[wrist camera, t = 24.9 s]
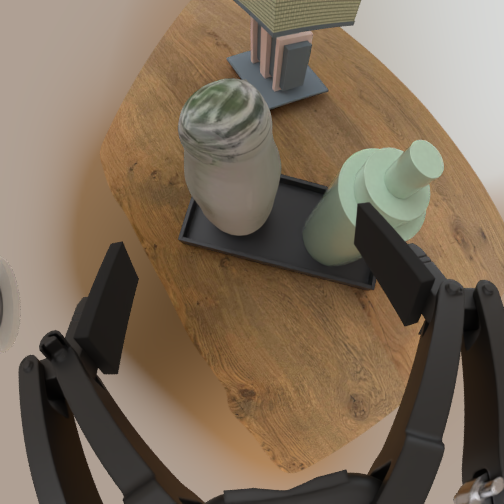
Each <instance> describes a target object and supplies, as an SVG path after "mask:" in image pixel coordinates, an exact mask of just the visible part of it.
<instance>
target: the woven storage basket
mask: <svg viewBox="0 0 504 504" xmlns="http://www.w3.org/2000/svg"><path fill="white" fill-rule="evenodd" d="M234 1H235V2H236V3H237V4H238V5H239V6H240V7H241V8H242V9H244V10H245V11H246V12H247V13H248V14H249V15H250V17H251V51H247V52H244V53H241V54H237V55H234V56H231V57H228V58H227V61H228V62H229V63H230V65H231V66H232V67H233V69H234V70H235V71H236V73H237V74H238V76H239V77H240V78H241V80H245V79H246V80H247V81H248V82H249V83H250V84H252V85H253V86H254V87H255V88H256V89H257V90H258V91H259V92H260V93H261V95H262V97H263V98H264V100H265V101H266V103H267V105H268V107H269V110H271V109H274V108H276V107H279V106H282V105H285V104H288V103H292V102H295V101H298V100H301V99H304V98H308V97H311V96H314V95H318V94H321V93H325V92H328V89H327V87H326V86H325V85H324V84H323V83H322V81H321V80H320V79H319V78H318V77H317V75H316V74H315V73H314V72H313V71H312V70H311V68H310V67H309V66H308V62H309V57H310V53H311V48H312V44H311V43H312V38H313V33H312V32H310V31H311V30H317V29H324V28H332V27H341V26H351V25H354V22H355V21H354V19H355V17H356V14H357V11H358V8H359V5H360V2H361V0H234ZM305 31H308V32H305ZM299 32H302V33H299Z"/></svg>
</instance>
